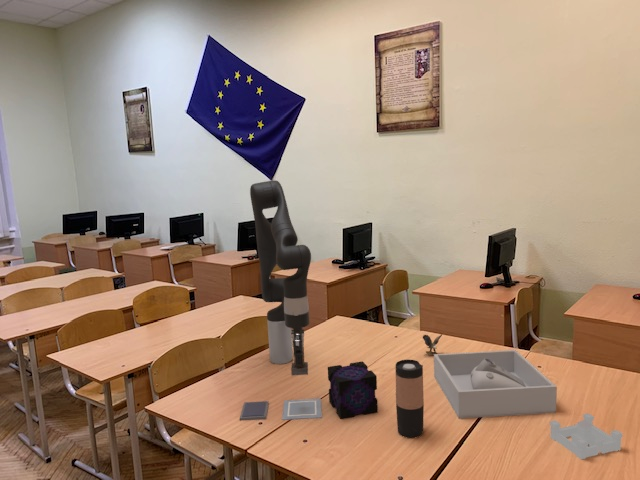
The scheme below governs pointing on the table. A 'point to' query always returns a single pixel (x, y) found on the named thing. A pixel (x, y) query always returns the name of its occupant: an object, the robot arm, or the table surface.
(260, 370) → the table surface
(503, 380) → the grey curved piece
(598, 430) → the castle model
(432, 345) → the eagle figurine
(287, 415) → the mat
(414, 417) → the travel mug
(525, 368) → the grey open tray
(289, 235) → the robot arm
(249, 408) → the pad
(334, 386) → the energy cube
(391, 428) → the table surface
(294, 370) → the stamp
